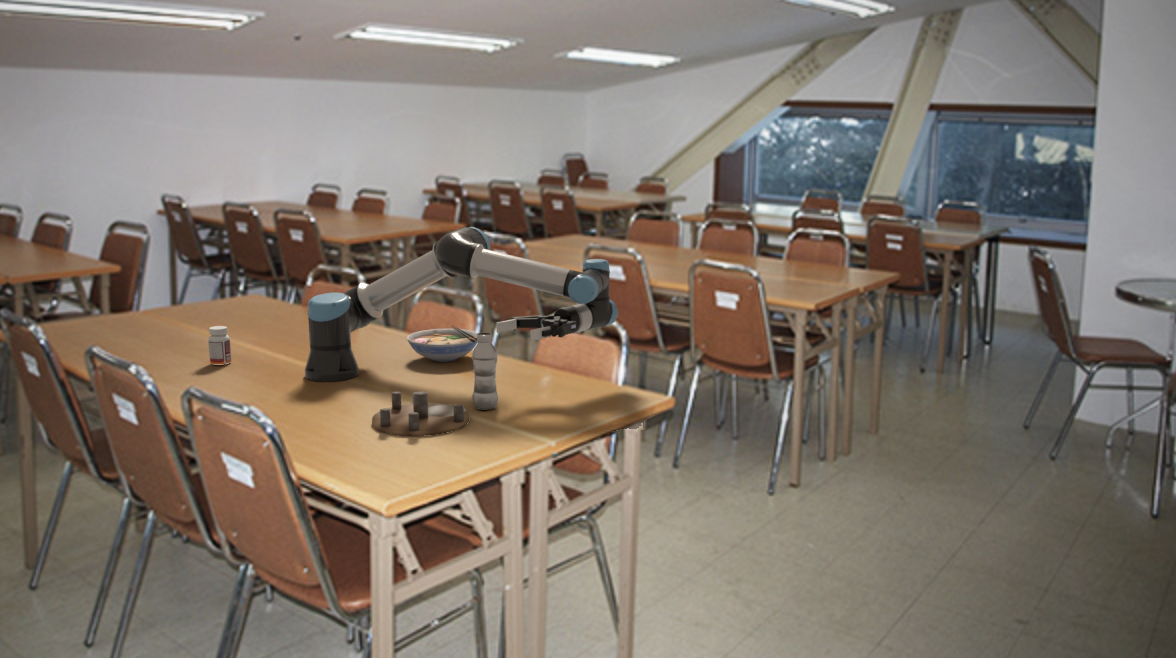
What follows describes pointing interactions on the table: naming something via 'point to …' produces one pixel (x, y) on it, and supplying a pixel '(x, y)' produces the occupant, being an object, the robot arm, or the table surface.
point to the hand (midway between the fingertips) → (513, 331)
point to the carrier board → (423, 423)
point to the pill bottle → (219, 345)
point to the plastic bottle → (485, 373)
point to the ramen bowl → (443, 343)
